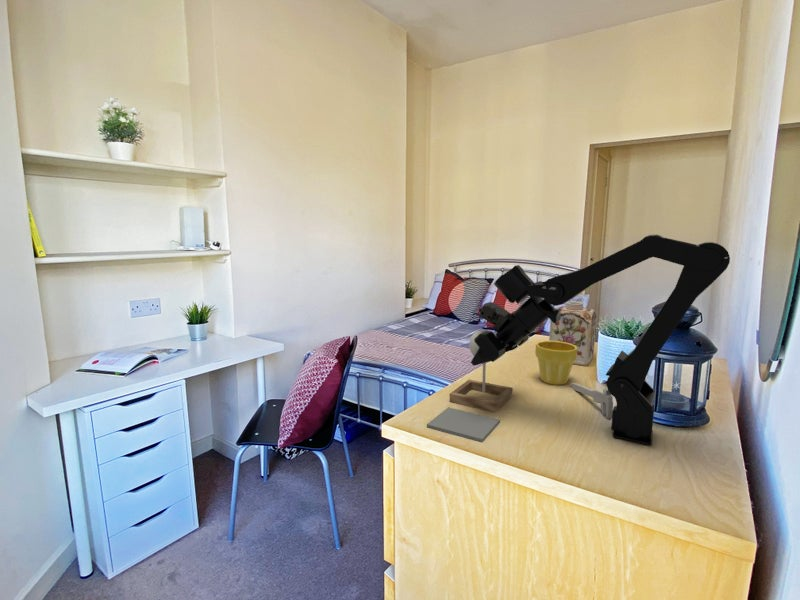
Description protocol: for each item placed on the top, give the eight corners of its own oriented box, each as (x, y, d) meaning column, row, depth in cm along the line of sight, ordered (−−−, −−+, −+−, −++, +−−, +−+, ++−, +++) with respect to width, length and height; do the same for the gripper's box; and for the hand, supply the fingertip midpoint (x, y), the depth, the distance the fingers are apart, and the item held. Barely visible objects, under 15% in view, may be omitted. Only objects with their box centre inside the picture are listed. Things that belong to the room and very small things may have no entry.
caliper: (612, 420, 89) (614, 392, 88) (607, 420, 89) (609, 392, 88) (572, 386, 109) (574, 362, 108) (568, 386, 109) (570, 362, 108)
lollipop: (499, 387, 103) (501, 327, 100) (498, 398, 96) (499, 334, 94) (470, 385, 105) (471, 326, 102) (466, 396, 98) (467, 333, 96)
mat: (499, 422, 88) (500, 419, 88) (482, 442, 80) (482, 439, 80) (448, 409, 95) (448, 407, 94) (426, 427, 86) (426, 424, 86)
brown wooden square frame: (512, 395, 103) (512, 387, 102) (496, 412, 93) (496, 403, 93) (468, 386, 109) (468, 379, 108) (449, 401, 99) (449, 393, 99)
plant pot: (581, 380, 113) (583, 344, 112) (565, 390, 106) (567, 352, 104) (544, 371, 120) (546, 338, 119) (527, 380, 113) (528, 345, 111)
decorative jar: (594, 357, 134) (598, 301, 131) (588, 367, 124) (592, 306, 121) (555, 351, 140) (558, 298, 137) (546, 360, 130) (549, 303, 128)
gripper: (517, 287, 102) (475, 326, 110) (483, 296, 87) (437, 341, 95) (548, 322, 98) (503, 360, 106) (519, 339, 83) (469, 381, 92)
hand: (479, 360), depth 100 cm, fingers closed on lollipop, 7 cm apart
